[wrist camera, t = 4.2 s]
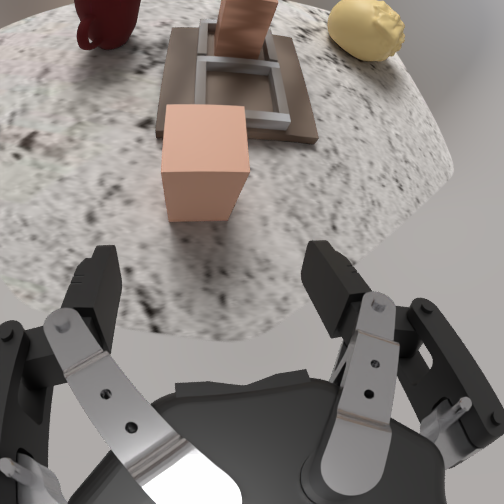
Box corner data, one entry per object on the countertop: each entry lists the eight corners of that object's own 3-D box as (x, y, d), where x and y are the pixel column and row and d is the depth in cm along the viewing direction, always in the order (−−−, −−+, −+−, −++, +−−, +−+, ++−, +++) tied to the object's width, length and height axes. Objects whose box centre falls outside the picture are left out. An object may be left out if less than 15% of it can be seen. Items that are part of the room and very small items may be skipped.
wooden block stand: (156, 137, 25) (149, 58, 15) (171, 34, 28) (176, -28, 18) (314, 144, 28) (362, 82, 19) (288, 43, 32) (314, -11, 22)
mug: (124, 71, 26) (116, 4, 16) (67, 74, 24) (48, 14, 14) (151, 25, 28) (152, -32, 18) (99, 28, 26) (92, -25, 17)
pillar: (168, 221, 23) (161, 172, 15) (170, 169, 24) (166, 104, 16) (227, 220, 25) (250, 172, 16) (224, 168, 26) (244, 106, 17)
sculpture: (376, 82, 34) (415, 37, 24) (309, 38, 33) (336, -14, 23) (389, 57, 37) (420, 20, 27) (333, 20, 37) (357, -21, 26)
